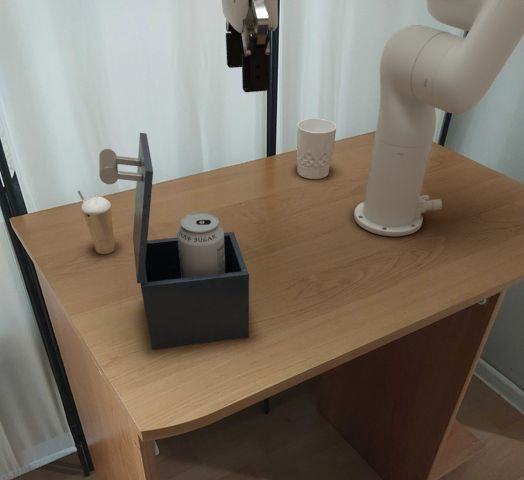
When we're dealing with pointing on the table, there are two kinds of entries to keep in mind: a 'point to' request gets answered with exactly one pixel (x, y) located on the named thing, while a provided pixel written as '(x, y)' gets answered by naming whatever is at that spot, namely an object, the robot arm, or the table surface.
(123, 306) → the table surface
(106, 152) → the lid
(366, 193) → the robot arm
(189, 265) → the energy drink can
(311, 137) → the white cup
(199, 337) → the bin
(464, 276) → the table surface
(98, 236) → the milkshake
